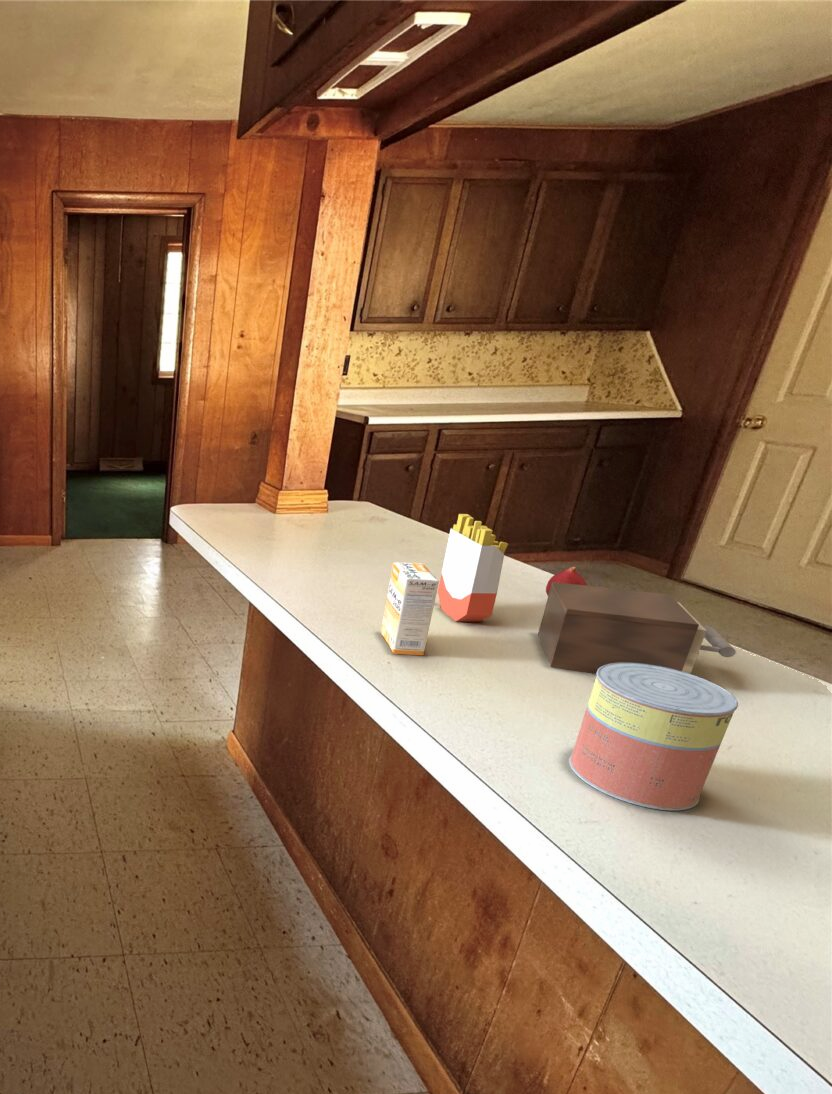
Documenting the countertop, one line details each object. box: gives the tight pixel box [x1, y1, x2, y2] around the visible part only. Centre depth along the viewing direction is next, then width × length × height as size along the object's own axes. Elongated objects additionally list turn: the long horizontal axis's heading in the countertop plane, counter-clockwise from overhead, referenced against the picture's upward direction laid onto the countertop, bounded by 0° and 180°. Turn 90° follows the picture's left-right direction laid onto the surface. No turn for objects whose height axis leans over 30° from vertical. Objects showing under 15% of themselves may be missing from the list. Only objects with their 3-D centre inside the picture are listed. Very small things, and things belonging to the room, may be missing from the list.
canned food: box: [568, 663, 739, 812], centre depth 73 cm, size 11×11×12 cm
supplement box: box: [380, 561, 440, 656], centre depth 107 cm, size 8×5×13 cm, turn 167°
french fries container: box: [437, 513, 509, 623], centre depth 116 cm, size 5×11×18 cm, turn 174°
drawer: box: [676, 601, 737, 674], centre depth 99 cm, size 18×11×8 cm, turn 62°
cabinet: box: [537, 582, 699, 675], centre depth 101 cm, size 15×13×10 cm
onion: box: [545, 566, 588, 597], centre depth 120 cm, size 6×6×8 cm
